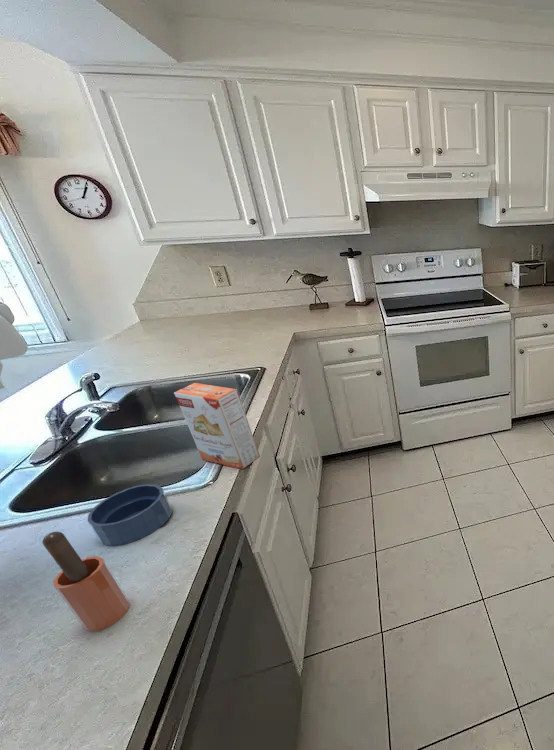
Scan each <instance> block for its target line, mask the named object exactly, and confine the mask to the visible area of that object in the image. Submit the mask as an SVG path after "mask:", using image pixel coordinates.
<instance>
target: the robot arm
mask: <svg viewBox="0 0 554 750" xmlns="http://www.w3.org/2000/svg"><path fill="white" fill-rule="evenodd" d="M14 322H15V316H14V314H13V312H12V310H11V308H10V306H8V305H7V304H6V303H5V302H1V301H0V376H1V374H2V371H3V368H4V365H3V362H2V360H6V359H7V360H8V359H12V358H16V357H20V356H24V355H25V354H26V353H27V351H28V350H29V346H28V345H27V343H26V341H25V339H24V337H23V336H22V335H21V333H20V332H19V331H18V330H17V328H16V327H15V325H14ZM5 388H6V387H5V384H4V382H3V381H2V379H1V378H0V390H1V389H5Z"/></svg>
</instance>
